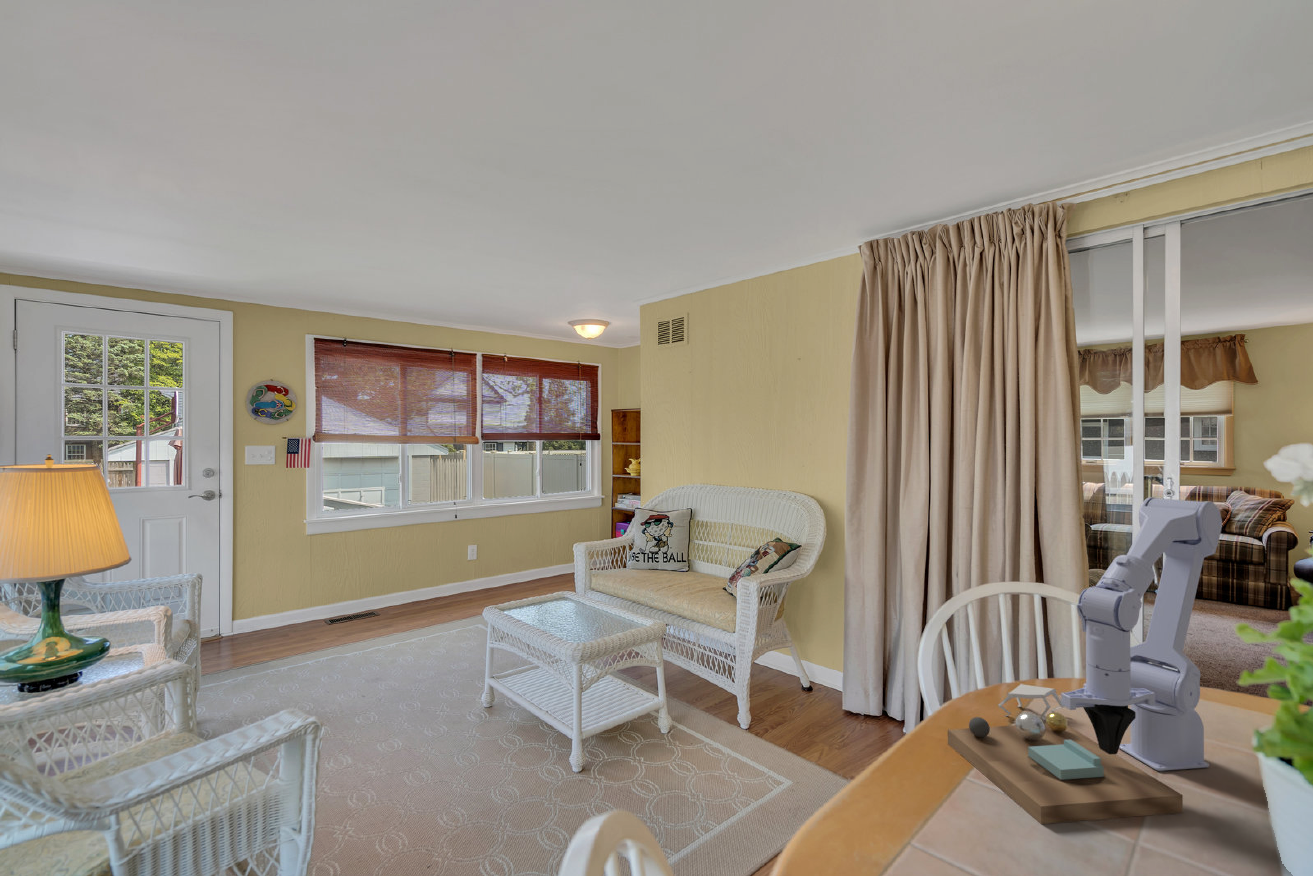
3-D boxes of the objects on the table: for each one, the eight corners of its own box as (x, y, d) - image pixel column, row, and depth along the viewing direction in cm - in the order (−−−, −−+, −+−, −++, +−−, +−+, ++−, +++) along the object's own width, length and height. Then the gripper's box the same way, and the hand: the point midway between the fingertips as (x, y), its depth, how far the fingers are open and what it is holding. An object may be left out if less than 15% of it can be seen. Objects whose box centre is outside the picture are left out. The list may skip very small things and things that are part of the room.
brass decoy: (1058, 726, 111) (1058, 708, 111) (1072, 735, 108) (1072, 716, 108) (1041, 727, 111) (1041, 709, 111) (1055, 736, 108) (1055, 717, 108)
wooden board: (1062, 736, 113) (1062, 722, 113) (1182, 812, 90) (1182, 795, 90) (947, 743, 110) (947, 729, 110) (1041, 824, 88) (1040, 806, 88)
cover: (1068, 753, 102) (1068, 738, 102) (1103, 776, 95) (1103, 760, 95) (1028, 756, 101) (1028, 740, 101) (1060, 779, 94) (1060, 763, 94)
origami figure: (1025, 700, 128) (1024, 676, 128) (1066, 717, 120) (1066, 691, 120) (985, 712, 123) (985, 687, 123) (1026, 730, 115) (1026, 704, 115)
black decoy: (982, 731, 110) (982, 713, 110) (993, 740, 106) (993, 721, 106) (965, 732, 109) (964, 714, 109) (976, 741, 106) (976, 722, 106)
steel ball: (1033, 732, 109) (1033, 707, 109) (1051, 744, 105) (1051, 718, 105) (1009, 733, 109) (1009, 708, 109) (1027, 746, 104) (1027, 720, 104)
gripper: (1128, 654, 103) (1128, 736, 103) (1046, 658, 102) (1047, 741, 102) (1167, 670, 96) (1167, 758, 96) (1080, 674, 95) (1081, 764, 95)
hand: (1108, 751), depth 98 cm, fingers closed
